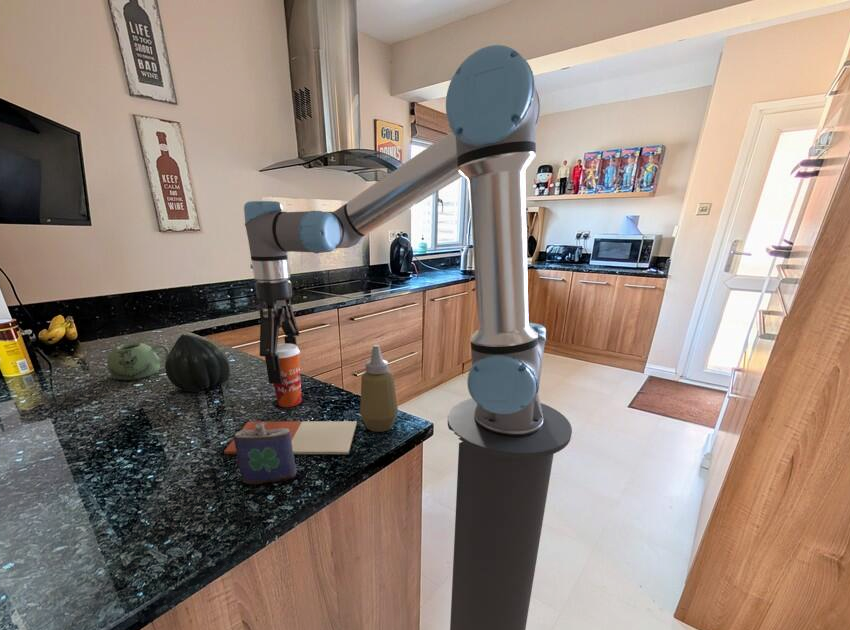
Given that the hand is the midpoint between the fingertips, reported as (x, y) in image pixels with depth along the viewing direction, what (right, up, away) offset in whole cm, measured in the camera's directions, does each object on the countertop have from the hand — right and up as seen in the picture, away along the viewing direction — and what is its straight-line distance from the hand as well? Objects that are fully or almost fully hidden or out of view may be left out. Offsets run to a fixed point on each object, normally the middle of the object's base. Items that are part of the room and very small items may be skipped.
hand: (285, 371), depth 93 cm
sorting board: (+6, -14, -13) cm, 20 cm away
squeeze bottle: (+23, -12, -9) cm, 27 cm away
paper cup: (0, -7, +3) cm, 8 cm away
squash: (-26, -4, +13) cm, 30 cm away
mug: (-49, 0, +23) cm, 54 cm away
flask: (+5, -19, -25) cm, 32 cm away
